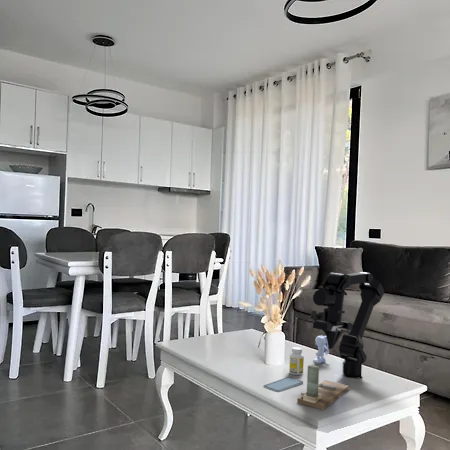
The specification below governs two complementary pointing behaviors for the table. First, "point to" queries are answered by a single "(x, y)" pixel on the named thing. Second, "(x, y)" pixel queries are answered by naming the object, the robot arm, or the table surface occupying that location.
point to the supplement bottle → (296, 361)
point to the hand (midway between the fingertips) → (330, 348)
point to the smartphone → (283, 384)
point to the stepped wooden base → (326, 394)
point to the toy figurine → (321, 348)
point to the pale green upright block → (312, 385)
